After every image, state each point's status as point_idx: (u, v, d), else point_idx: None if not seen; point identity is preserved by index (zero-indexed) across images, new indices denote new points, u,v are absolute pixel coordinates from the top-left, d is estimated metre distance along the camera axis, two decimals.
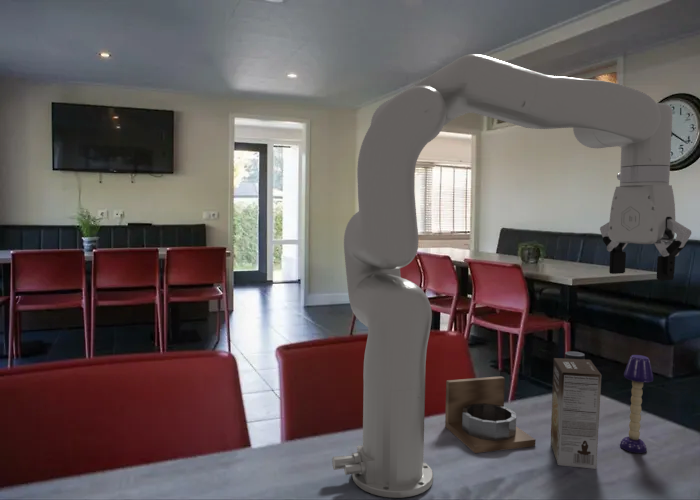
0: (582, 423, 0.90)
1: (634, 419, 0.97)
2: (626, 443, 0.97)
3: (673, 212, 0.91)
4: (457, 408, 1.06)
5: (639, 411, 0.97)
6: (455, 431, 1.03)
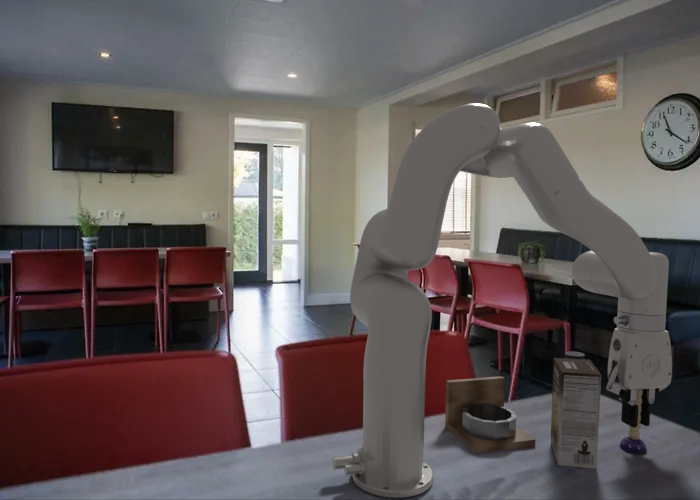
0: (582, 423, 0.90)
1: None
2: (626, 443, 0.97)
3: None
4: (457, 408, 1.06)
5: (639, 411, 0.97)
6: (455, 431, 1.03)
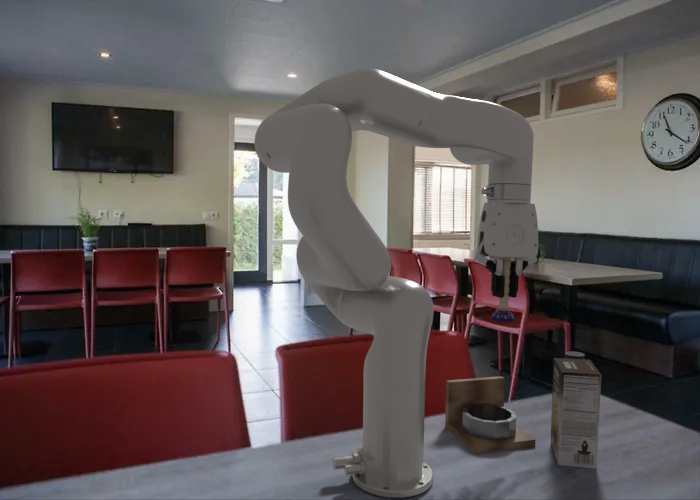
0: (582, 423, 0.90)
1: None
2: (495, 314, 1.00)
3: None
4: (457, 408, 1.06)
5: (507, 283, 0.99)
6: (455, 431, 1.03)
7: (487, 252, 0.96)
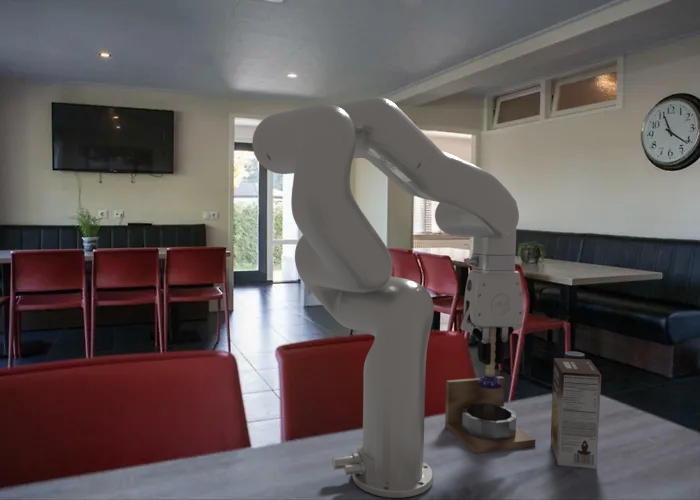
0: (582, 423, 0.90)
1: None
2: (482, 380, 1.01)
3: None
4: (457, 408, 1.06)
5: (493, 349, 1.01)
6: (455, 431, 1.03)
7: (473, 322, 0.98)
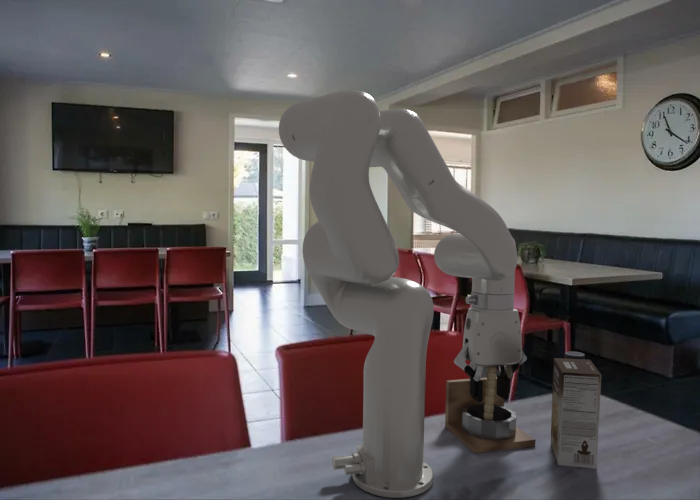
0: (582, 423, 0.90)
1: (487, 401, 1.01)
2: None
3: None
4: (457, 408, 1.06)
5: (492, 394, 1.01)
6: (455, 431, 1.03)
7: (472, 361, 0.98)
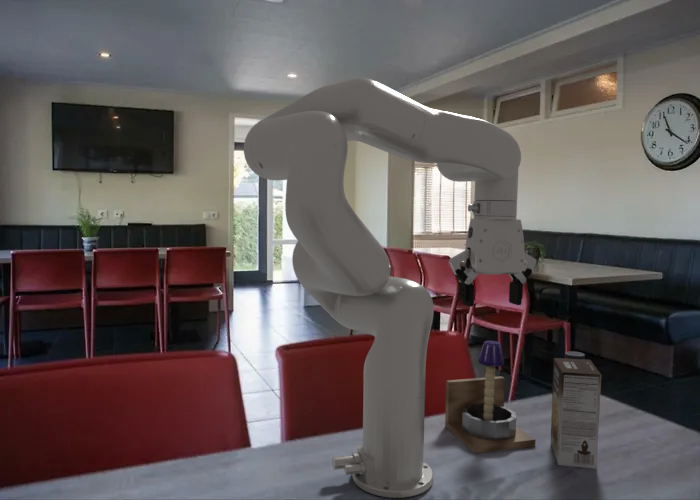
0: (582, 423, 0.90)
1: (487, 402, 1.01)
2: None
3: None
4: (457, 408, 1.06)
5: (491, 394, 1.01)
6: (455, 431, 1.03)
7: (474, 268, 0.97)
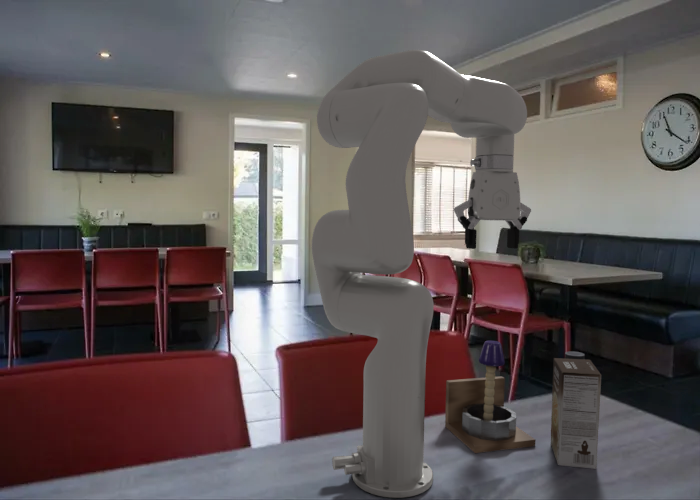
0: (582, 423, 0.90)
1: (487, 402, 1.01)
2: None
3: None
4: (457, 408, 1.06)
5: (491, 394, 1.01)
6: (455, 431, 1.03)
7: (476, 215, 1.11)
